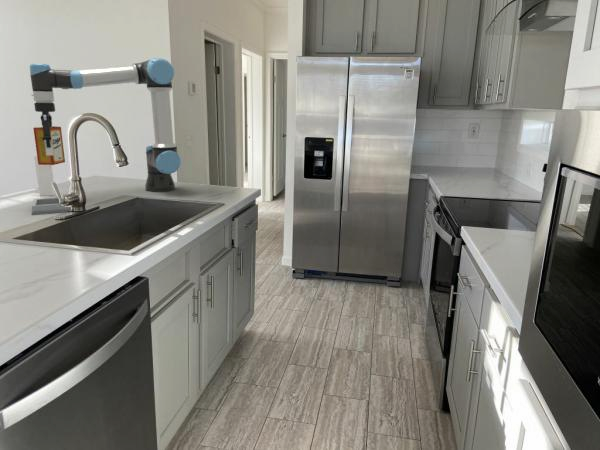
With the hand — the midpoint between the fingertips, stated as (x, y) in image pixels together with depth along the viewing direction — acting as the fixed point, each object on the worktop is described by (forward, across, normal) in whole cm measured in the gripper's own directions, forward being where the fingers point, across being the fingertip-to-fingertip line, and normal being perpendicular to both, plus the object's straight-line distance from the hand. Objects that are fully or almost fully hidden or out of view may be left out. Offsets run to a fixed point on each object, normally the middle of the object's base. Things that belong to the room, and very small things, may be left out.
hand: (50, 153), depth 195 cm
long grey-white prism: (+23, -24, -5) cm, 33 cm away
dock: (+22, +11, -1) cm, 25 cm away
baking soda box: (+4, 0, 0) cm, 4 cm away
